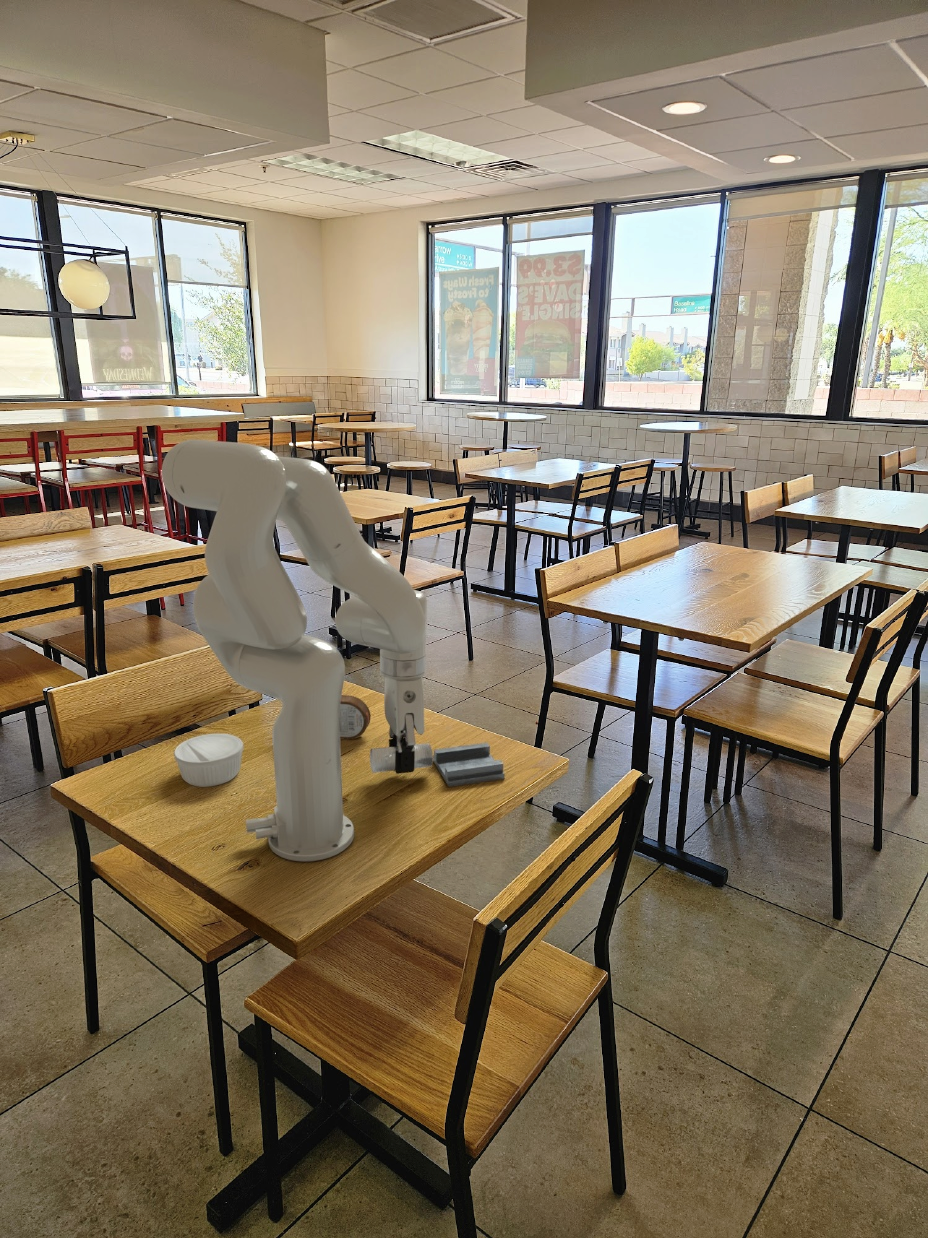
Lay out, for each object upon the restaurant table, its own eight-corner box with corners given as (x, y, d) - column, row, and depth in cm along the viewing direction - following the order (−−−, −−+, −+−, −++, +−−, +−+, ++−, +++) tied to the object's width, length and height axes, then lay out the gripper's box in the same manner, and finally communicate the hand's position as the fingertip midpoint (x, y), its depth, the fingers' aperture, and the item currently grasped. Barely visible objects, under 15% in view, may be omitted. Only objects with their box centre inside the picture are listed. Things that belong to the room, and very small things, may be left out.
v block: (448, 787, 136) (448, 773, 135) (432, 760, 145) (432, 747, 144) (504, 778, 139) (504, 765, 138) (485, 753, 148) (485, 740, 147)
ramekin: (163, 784, 136) (159, 756, 134) (202, 755, 146) (199, 729, 144) (221, 795, 133) (218, 766, 131) (257, 765, 143) (255, 737, 141)
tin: (371, 735, 155) (370, 694, 152) (368, 742, 152) (366, 701, 149) (294, 731, 156) (292, 690, 154) (289, 738, 153) (287, 697, 151)
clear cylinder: (374, 777, 135) (374, 755, 134) (369, 766, 138) (370, 744, 137) (432, 770, 138) (432, 749, 137) (426, 760, 141) (426, 739, 140)
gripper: (438, 679, 126) (435, 785, 131) (412, 648, 142) (410, 744, 147) (391, 683, 124) (390, 791, 129) (370, 650, 140) (370, 748, 144)
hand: (401, 765), depth 138 cm, fingers closed on clear cylinder, 4 cm apart
